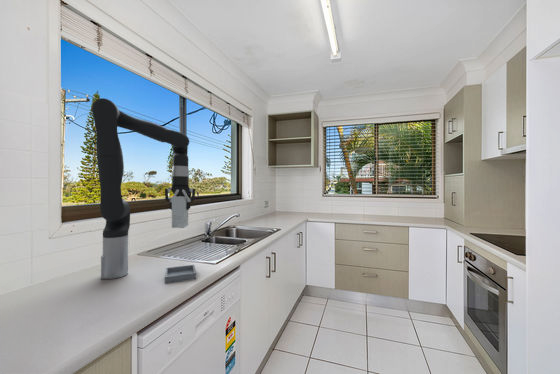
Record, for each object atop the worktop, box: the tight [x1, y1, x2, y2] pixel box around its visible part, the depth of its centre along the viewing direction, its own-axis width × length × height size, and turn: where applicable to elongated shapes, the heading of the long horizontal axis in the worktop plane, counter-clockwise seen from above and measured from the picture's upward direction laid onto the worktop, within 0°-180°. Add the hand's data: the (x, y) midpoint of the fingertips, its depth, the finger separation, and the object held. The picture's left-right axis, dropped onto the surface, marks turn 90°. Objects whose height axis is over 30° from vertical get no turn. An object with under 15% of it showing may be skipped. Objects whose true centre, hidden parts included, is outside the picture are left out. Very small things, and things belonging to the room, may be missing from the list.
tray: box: [164, 264, 197, 284], centre depth 106 cm, size 12×12×2 cm
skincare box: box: [171, 196, 189, 229], centre depth 118 cm, size 8×6×15 cm
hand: (180, 209), depth 118 cm, fingers closed on skincare box, 6 cm apart
